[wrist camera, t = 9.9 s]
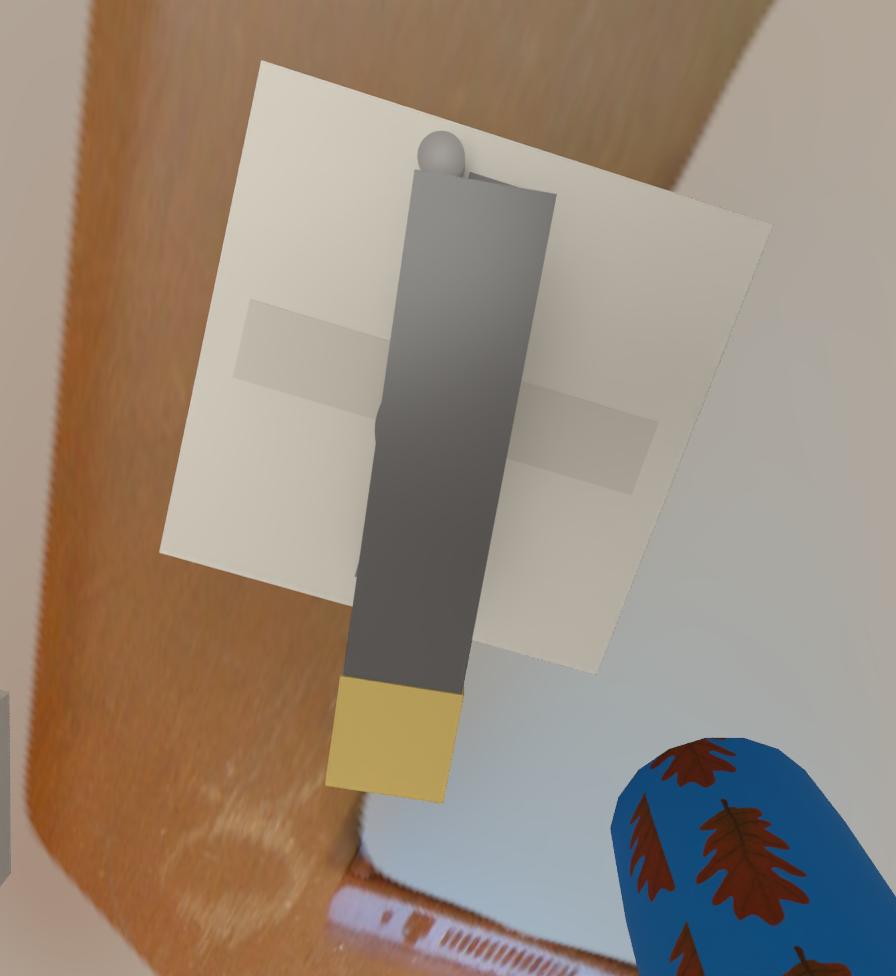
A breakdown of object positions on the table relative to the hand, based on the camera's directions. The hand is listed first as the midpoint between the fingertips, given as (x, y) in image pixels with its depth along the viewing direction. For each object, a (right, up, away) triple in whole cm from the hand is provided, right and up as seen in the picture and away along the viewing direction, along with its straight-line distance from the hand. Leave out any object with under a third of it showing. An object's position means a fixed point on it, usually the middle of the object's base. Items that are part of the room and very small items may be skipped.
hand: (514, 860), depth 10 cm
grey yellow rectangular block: (-1, +6, +16) cm, 17 cm away
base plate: (-1, +9, +24) cm, 25 cm away
